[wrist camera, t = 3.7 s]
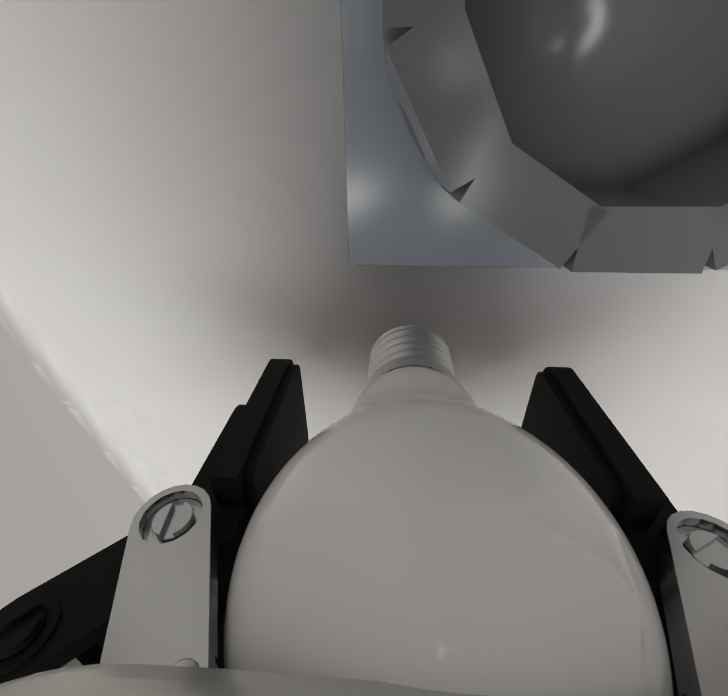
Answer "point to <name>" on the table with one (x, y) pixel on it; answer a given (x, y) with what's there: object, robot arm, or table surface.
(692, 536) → the robot arm
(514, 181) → the socket
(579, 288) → the table surface
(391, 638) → the lightbulb
